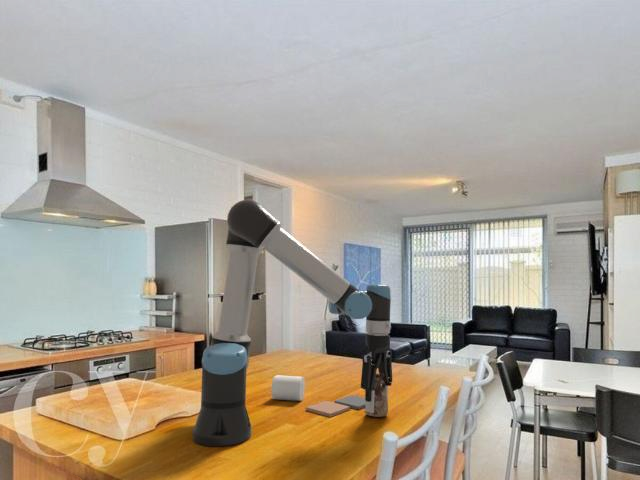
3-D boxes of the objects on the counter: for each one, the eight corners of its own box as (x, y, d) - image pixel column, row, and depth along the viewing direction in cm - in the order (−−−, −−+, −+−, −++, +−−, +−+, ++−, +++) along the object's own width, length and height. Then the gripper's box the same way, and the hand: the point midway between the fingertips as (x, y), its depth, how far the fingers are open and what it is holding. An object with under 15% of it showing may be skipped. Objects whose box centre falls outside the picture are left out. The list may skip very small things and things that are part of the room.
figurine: (360, 410, 139) (361, 371, 140) (380, 408, 142) (381, 370, 143) (371, 417, 132) (372, 376, 133) (392, 415, 135) (393, 375, 136)
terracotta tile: (330, 417, 135) (330, 413, 135) (305, 410, 141) (306, 407, 141) (349, 409, 142) (349, 406, 143) (325, 403, 149) (325, 400, 149)
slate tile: (358, 409, 143) (358, 406, 143) (334, 403, 149) (334, 400, 149) (375, 403, 150) (375, 400, 150) (351, 397, 157) (351, 394, 157)
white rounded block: (299, 403, 149) (299, 379, 149) (270, 401, 151) (271, 377, 151) (307, 394, 161) (307, 372, 161) (281, 392, 163) (281, 370, 163)
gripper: (370, 337, 129) (368, 419, 127) (404, 332, 144) (403, 405, 142) (349, 335, 134) (347, 413, 132) (384, 330, 149) (383, 400, 147)
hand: (376, 409), depth 137 cm, fingers closed on figurine, 7 cm apart
